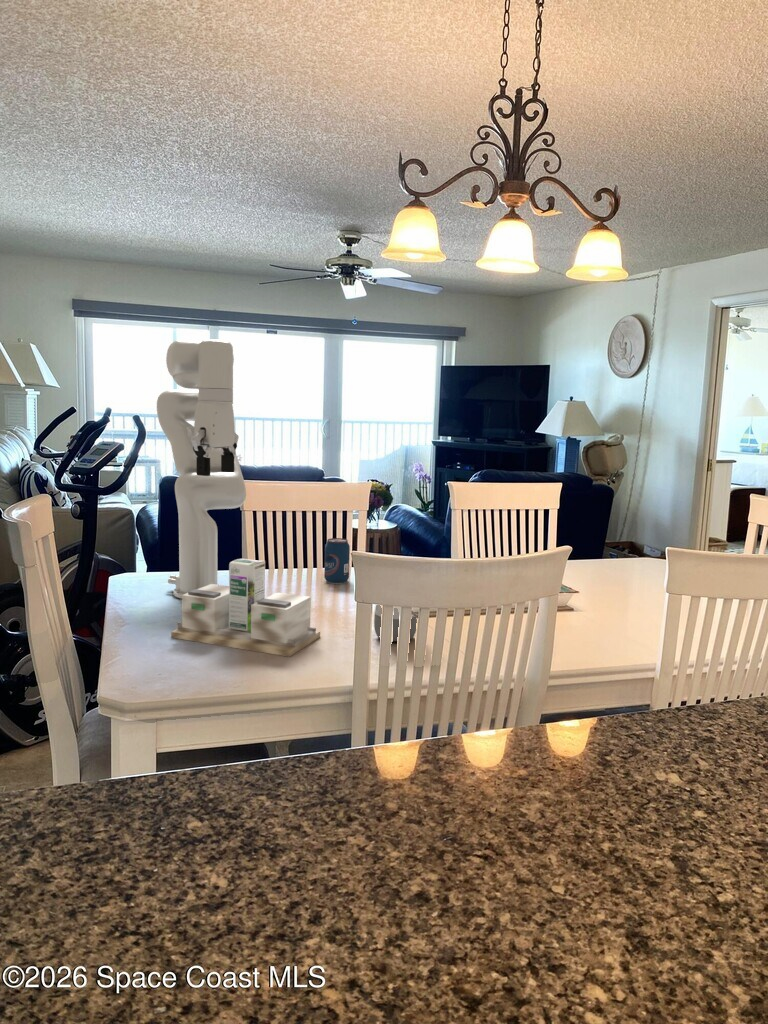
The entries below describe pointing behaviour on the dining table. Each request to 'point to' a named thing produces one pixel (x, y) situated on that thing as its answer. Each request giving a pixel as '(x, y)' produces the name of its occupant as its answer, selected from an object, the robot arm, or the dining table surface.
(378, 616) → the smart speaker
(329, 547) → the soda can
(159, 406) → the robot arm
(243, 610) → the syrup box
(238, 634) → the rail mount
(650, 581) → the dining table surface
